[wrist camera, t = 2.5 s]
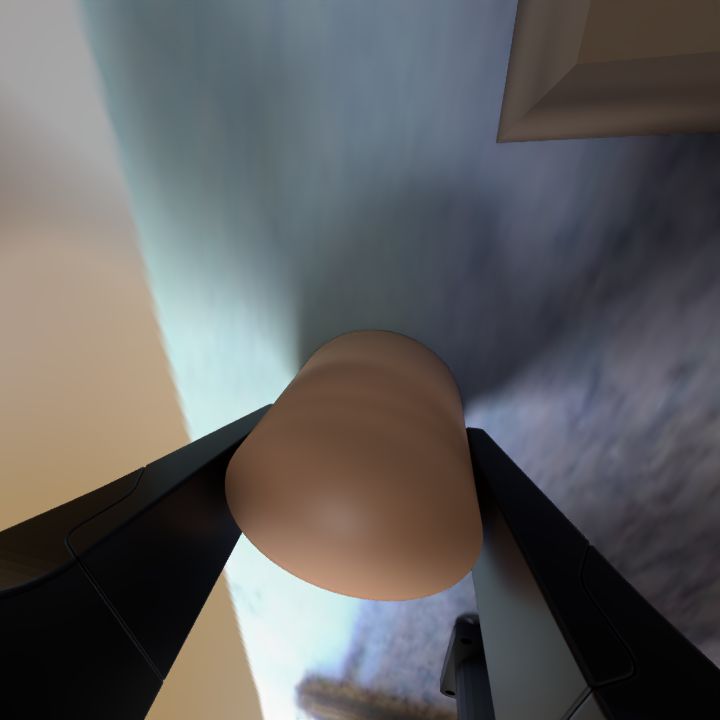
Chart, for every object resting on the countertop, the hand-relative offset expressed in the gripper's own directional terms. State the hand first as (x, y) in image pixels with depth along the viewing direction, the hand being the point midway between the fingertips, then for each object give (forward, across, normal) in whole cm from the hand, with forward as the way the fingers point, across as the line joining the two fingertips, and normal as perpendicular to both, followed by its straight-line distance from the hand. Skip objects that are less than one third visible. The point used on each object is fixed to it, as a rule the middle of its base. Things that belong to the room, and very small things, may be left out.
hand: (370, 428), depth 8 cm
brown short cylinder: (+1, 0, 0) cm, 1 cm away
